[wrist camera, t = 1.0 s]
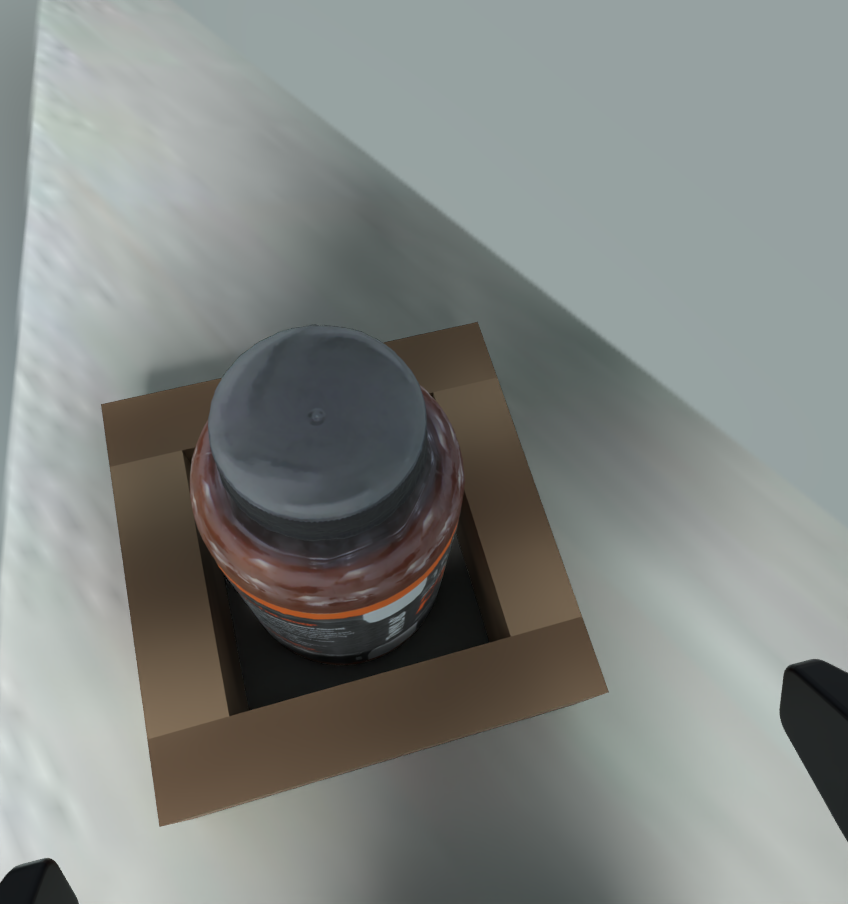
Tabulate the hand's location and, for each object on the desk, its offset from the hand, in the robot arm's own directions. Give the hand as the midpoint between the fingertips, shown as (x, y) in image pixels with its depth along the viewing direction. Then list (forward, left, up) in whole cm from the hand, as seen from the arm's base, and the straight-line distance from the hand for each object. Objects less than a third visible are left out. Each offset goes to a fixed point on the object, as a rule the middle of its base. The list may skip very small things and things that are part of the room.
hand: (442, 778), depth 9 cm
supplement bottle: (+6, 0, -14) cm, 15 cm away
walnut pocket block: (+6, 0, -14) cm, 15 cm away
